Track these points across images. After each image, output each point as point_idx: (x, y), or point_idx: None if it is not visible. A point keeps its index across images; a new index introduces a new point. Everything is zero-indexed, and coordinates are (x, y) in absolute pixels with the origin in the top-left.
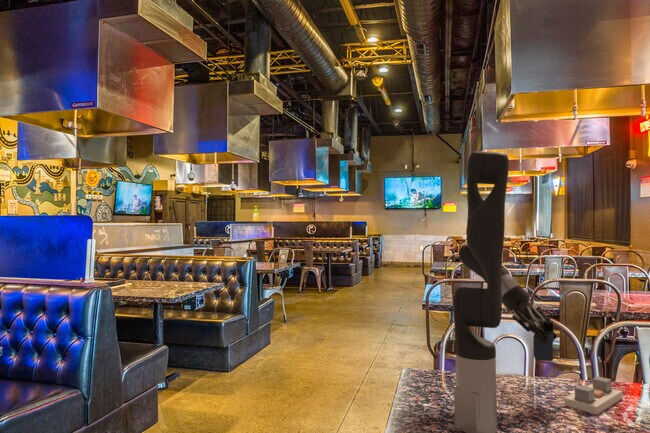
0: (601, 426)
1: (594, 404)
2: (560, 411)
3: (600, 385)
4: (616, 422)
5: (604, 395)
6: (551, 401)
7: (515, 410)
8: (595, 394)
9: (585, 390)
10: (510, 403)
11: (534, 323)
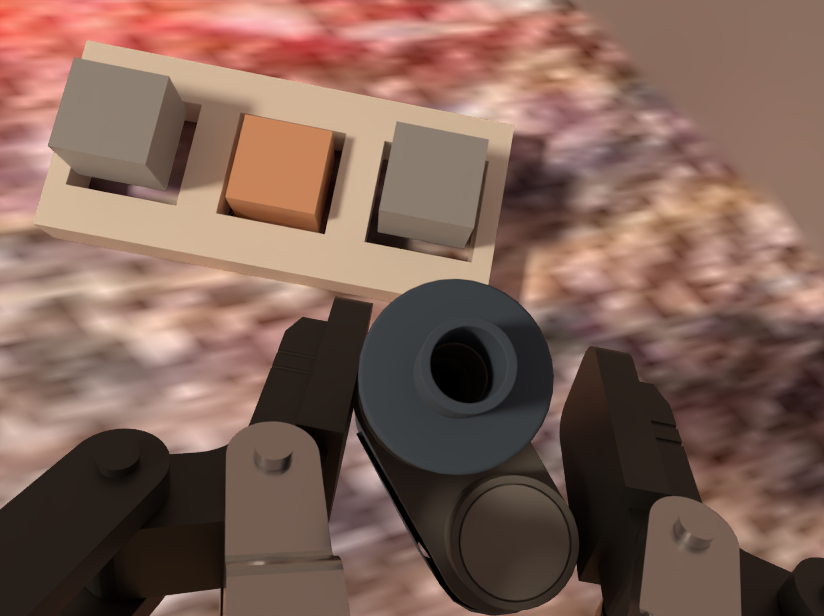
0: (659, 105)
1: None
2: (595, 314)
3: (168, 130)
4: (548, 54)
5: (240, 121)
6: None
7: (773, 532)
8: (330, 148)
9: (483, 160)
10: None
11: (737, 608)
